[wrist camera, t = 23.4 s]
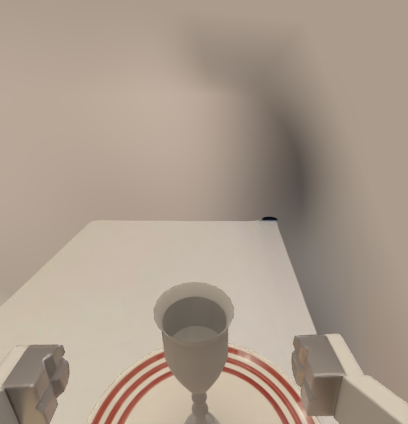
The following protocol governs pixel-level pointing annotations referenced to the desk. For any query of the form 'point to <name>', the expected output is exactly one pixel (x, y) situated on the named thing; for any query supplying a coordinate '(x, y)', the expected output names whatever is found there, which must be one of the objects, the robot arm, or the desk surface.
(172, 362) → the chalice
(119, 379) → the dinner plate
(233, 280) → the desk surface
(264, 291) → the desk surface
